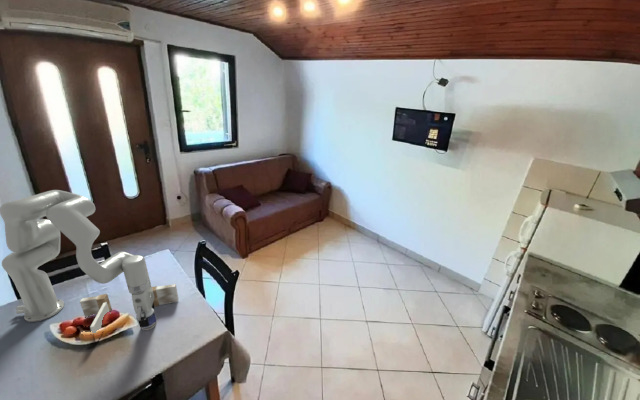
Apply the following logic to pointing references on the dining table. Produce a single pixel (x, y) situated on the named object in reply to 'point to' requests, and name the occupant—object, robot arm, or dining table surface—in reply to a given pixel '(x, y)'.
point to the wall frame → (94, 304)
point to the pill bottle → (150, 319)
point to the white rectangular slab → (99, 318)
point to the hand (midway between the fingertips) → (147, 317)
